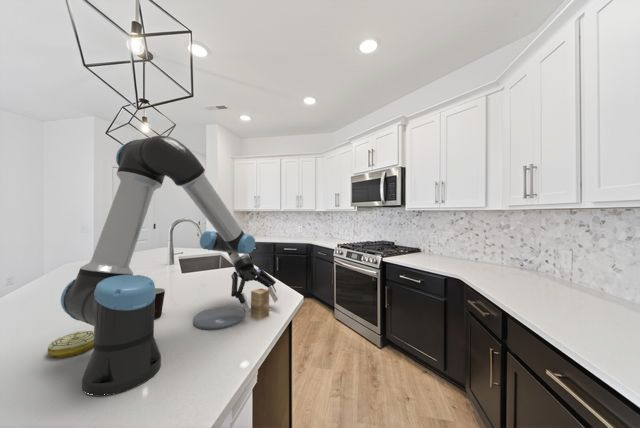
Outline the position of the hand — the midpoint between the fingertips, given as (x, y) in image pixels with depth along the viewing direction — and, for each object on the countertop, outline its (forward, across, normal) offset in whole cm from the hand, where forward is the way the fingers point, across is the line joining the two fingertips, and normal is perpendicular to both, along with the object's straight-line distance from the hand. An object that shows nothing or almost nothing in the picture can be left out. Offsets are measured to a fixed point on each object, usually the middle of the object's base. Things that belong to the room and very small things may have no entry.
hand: (263, 305), depth 96 cm
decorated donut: (-13, +50, -20) cm, 55 cm away
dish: (-4, +12, -11) cm, 17 cm away
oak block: (+2, 0, -5) cm, 5 cm away
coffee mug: (-20, +29, -27) cm, 44 cm away
